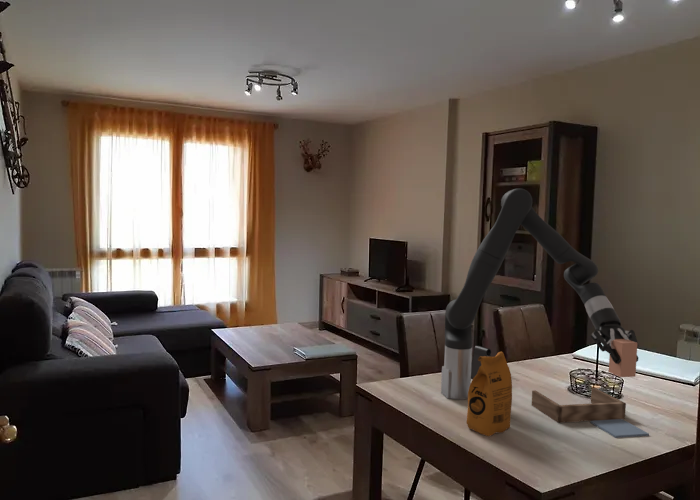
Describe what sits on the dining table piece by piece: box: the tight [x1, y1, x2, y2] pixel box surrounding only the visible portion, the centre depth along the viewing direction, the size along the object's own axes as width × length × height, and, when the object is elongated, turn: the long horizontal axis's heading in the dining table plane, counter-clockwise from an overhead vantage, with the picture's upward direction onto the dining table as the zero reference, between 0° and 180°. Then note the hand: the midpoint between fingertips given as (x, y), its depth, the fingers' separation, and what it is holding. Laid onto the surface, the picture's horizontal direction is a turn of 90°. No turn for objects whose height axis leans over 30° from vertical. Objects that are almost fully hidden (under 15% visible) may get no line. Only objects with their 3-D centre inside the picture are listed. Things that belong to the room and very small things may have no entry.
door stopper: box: [471, 345, 492, 380], centre depth 201 cm, size 9×6×12 cm, turn 124°
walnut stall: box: [531, 387, 627, 424], centre depth 167 cm, size 23×15×5 cm, turn 101°
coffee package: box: [465, 351, 513, 437], centre depth 152 cm, size 10×12×22 cm
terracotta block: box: [608, 339, 638, 378], centre depth 153 cm, size 5×5×10 cm
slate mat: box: [589, 419, 650, 439], centre depth 154 cm, size 11×11×1 cm
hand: (627, 362), depth 151 cm, fingers closed on terracotta block, 5 cm apart
